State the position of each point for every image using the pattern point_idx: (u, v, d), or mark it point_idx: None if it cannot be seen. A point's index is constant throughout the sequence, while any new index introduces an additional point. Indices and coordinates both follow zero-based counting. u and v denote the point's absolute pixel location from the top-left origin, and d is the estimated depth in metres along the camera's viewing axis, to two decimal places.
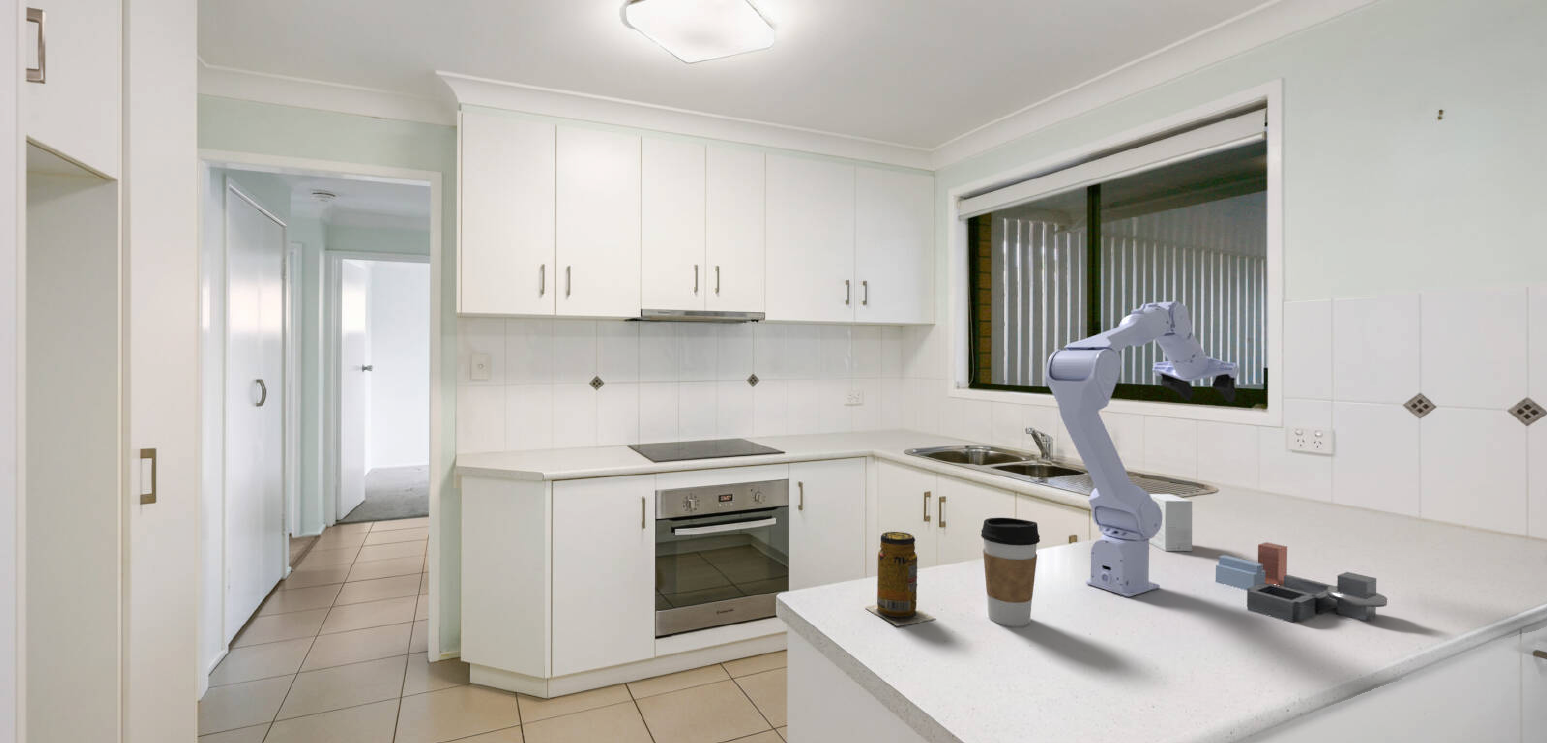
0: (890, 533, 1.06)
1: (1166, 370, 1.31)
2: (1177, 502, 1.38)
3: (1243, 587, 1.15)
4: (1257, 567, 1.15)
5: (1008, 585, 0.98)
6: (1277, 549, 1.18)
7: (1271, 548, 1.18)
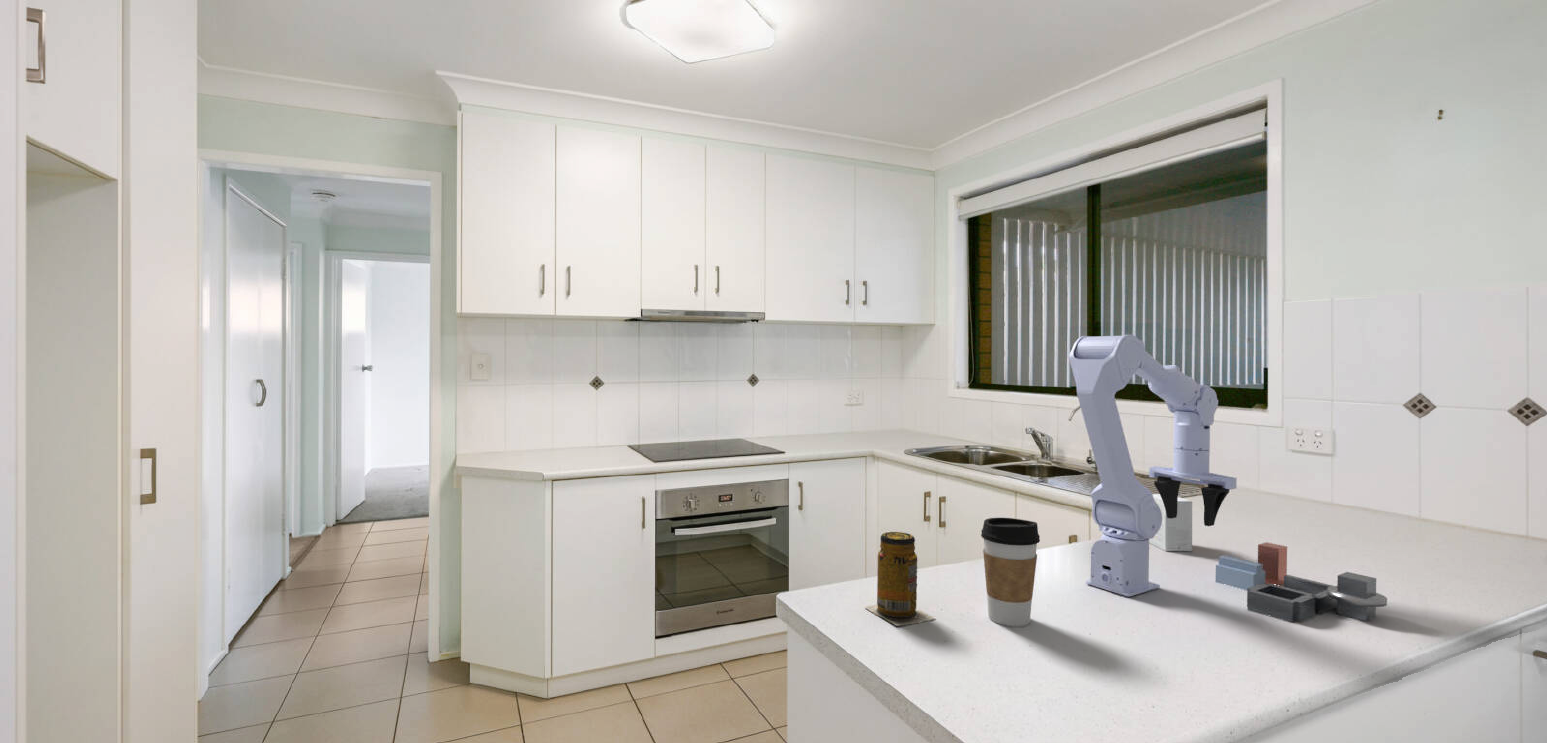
0: (890, 533, 1.05)
1: (1163, 470, 1.28)
2: (1177, 502, 1.38)
3: (1243, 587, 1.15)
4: (1257, 567, 1.15)
5: (1008, 585, 0.98)
6: (1277, 549, 1.18)
7: (1271, 548, 1.18)
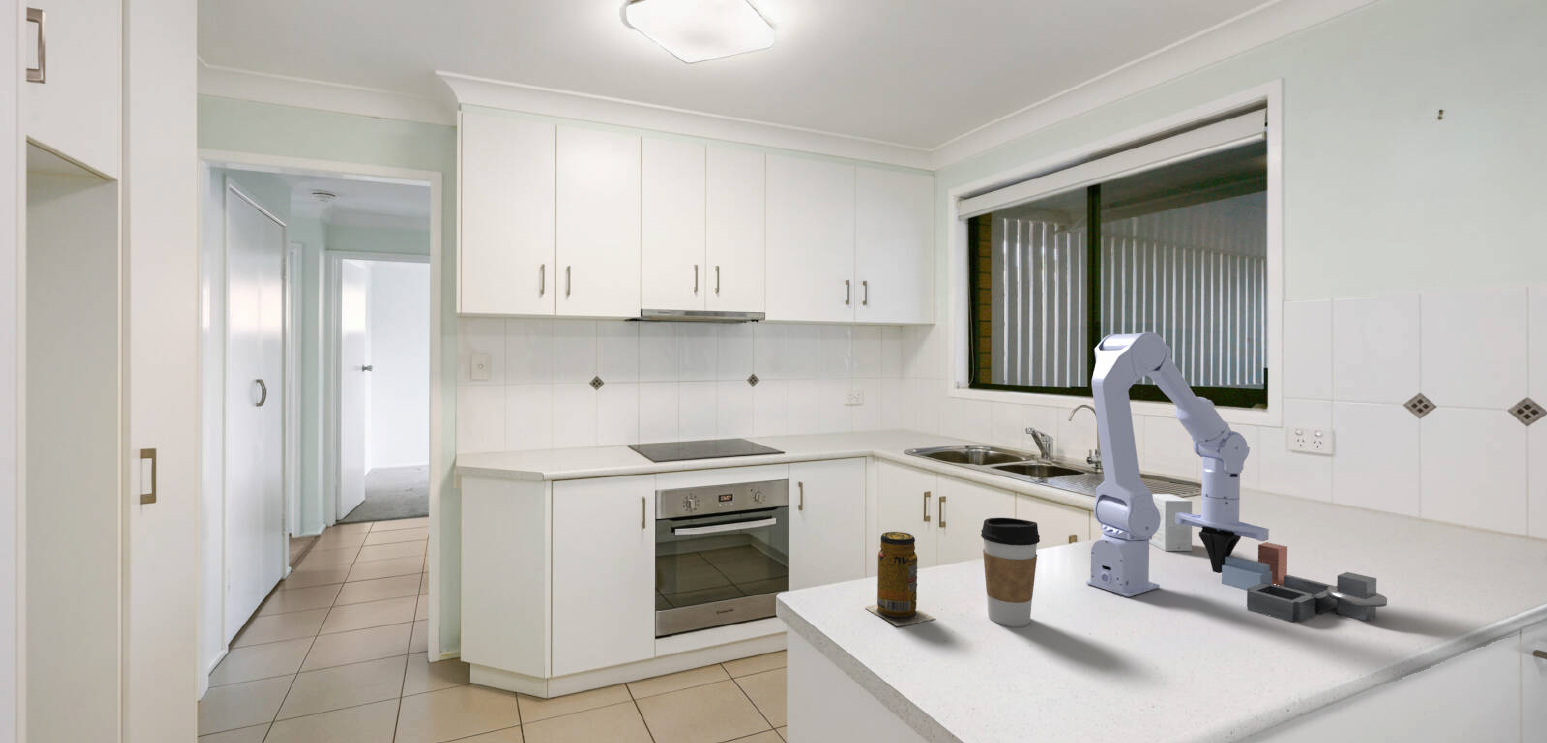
0: (890, 533, 1.05)
1: (1190, 517, 1.24)
2: (1177, 502, 1.38)
3: None
4: (1264, 568, 1.14)
5: (1008, 585, 0.98)
6: (1277, 549, 1.18)
7: (1271, 548, 1.18)
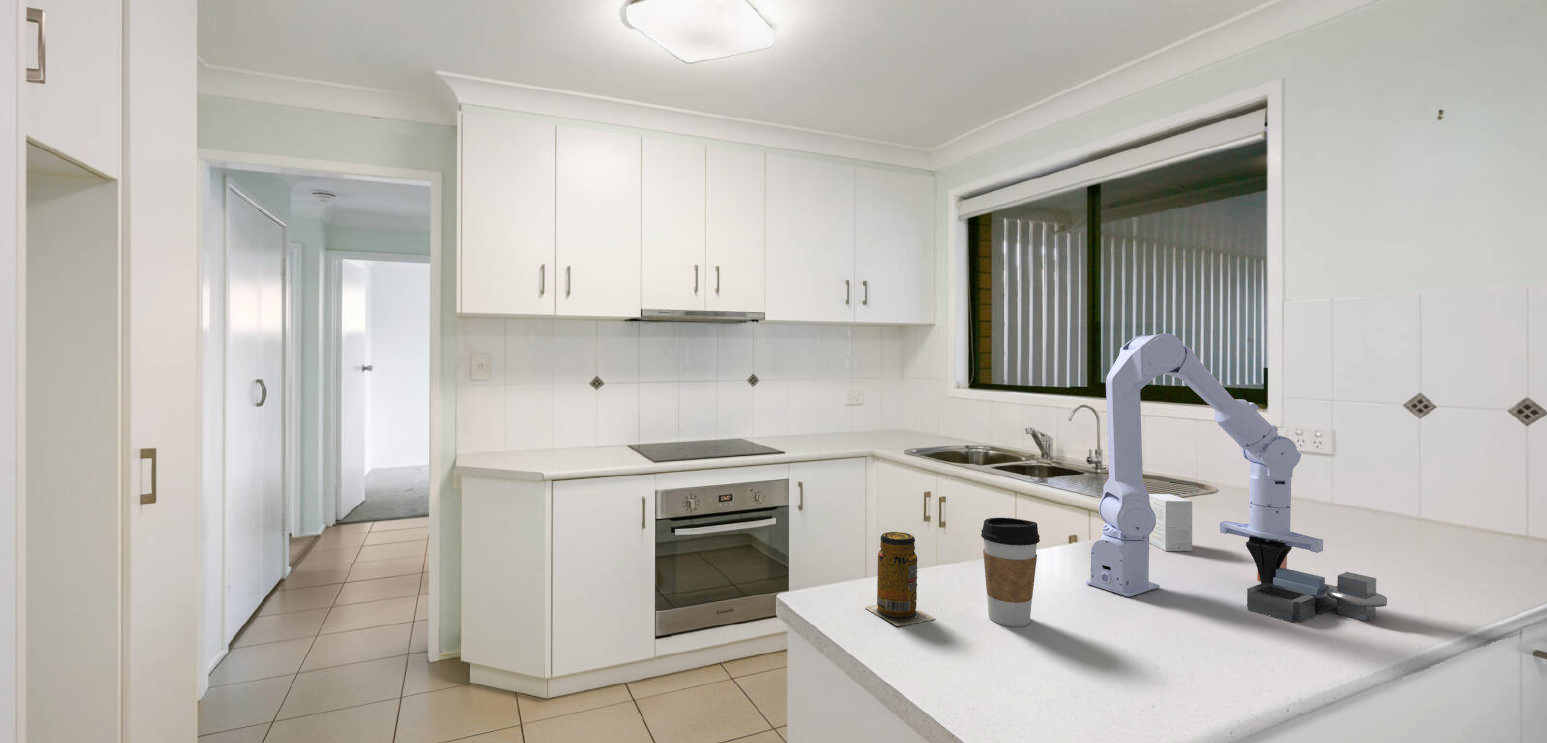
0: (890, 533, 1.05)
1: (1236, 526, 1.17)
2: (1177, 502, 1.38)
3: None
4: (1320, 581, 1.07)
5: (1008, 585, 0.98)
6: None
7: None
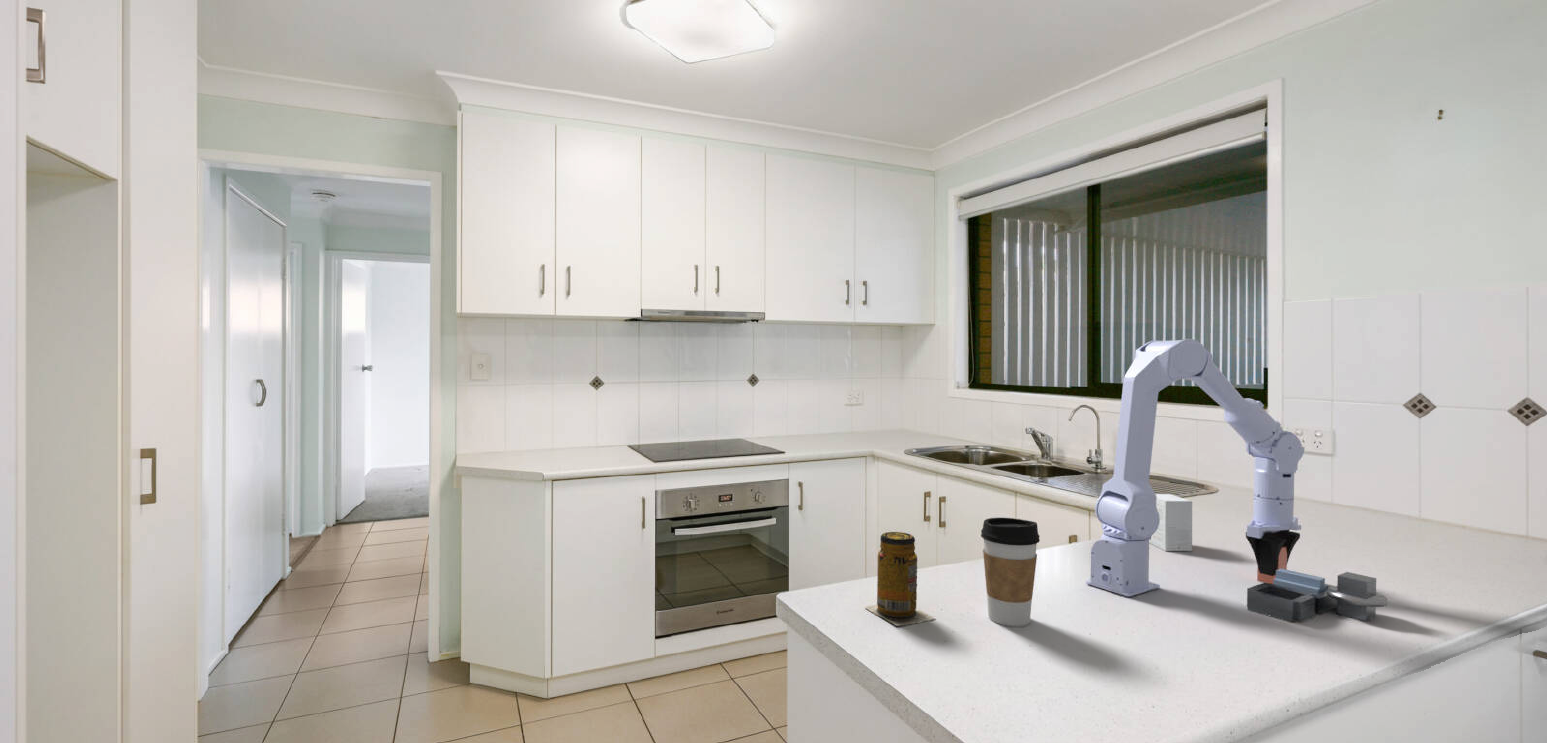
0: (890, 533, 1.05)
1: None
2: (1177, 502, 1.38)
3: None
4: (1320, 582, 1.07)
5: (1008, 585, 0.98)
6: None
7: None
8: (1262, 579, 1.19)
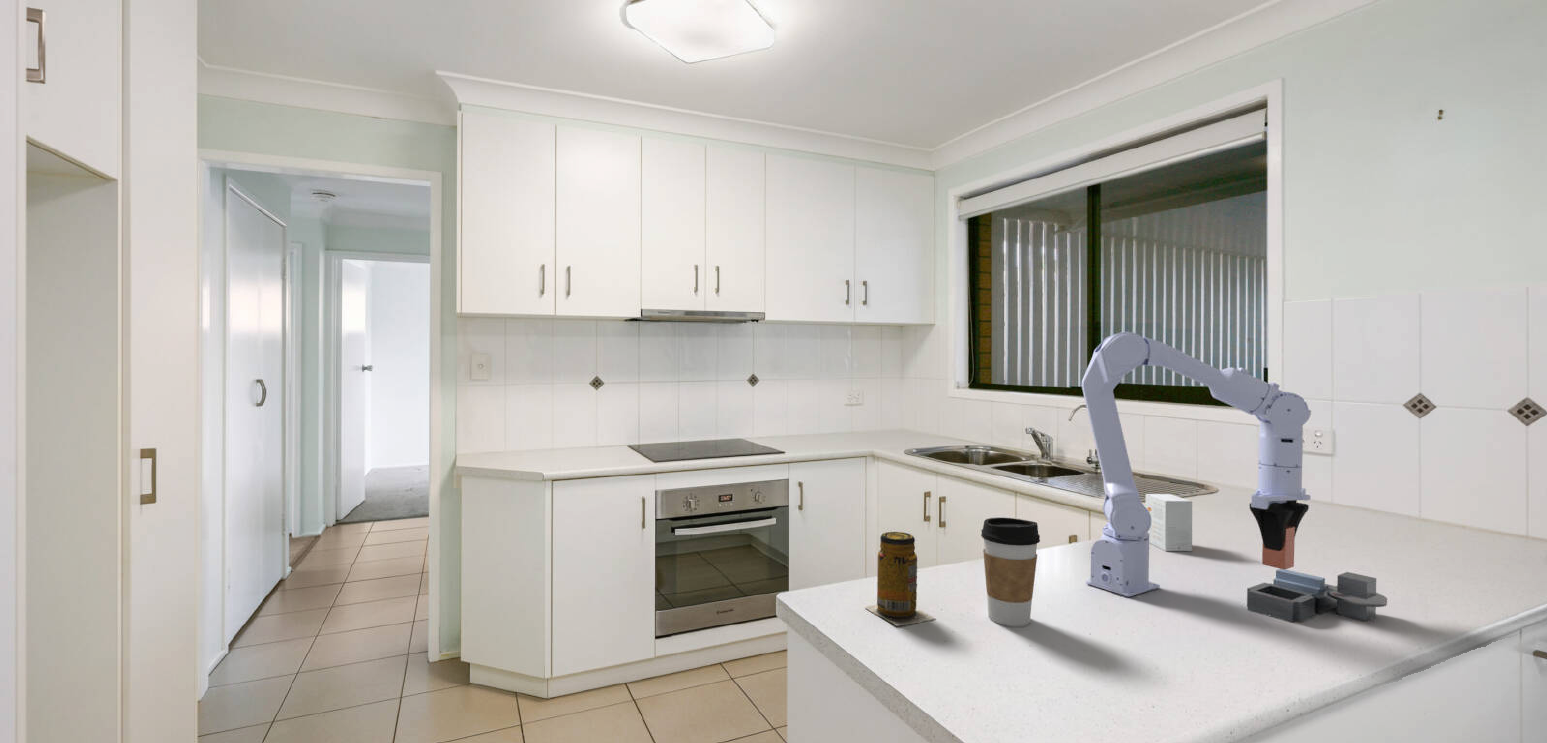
0: (890, 533, 1.06)
1: None
2: (1177, 502, 1.38)
3: None
4: (1320, 582, 1.07)
5: (1008, 585, 0.98)
6: None
7: None
8: (1268, 563, 1.09)
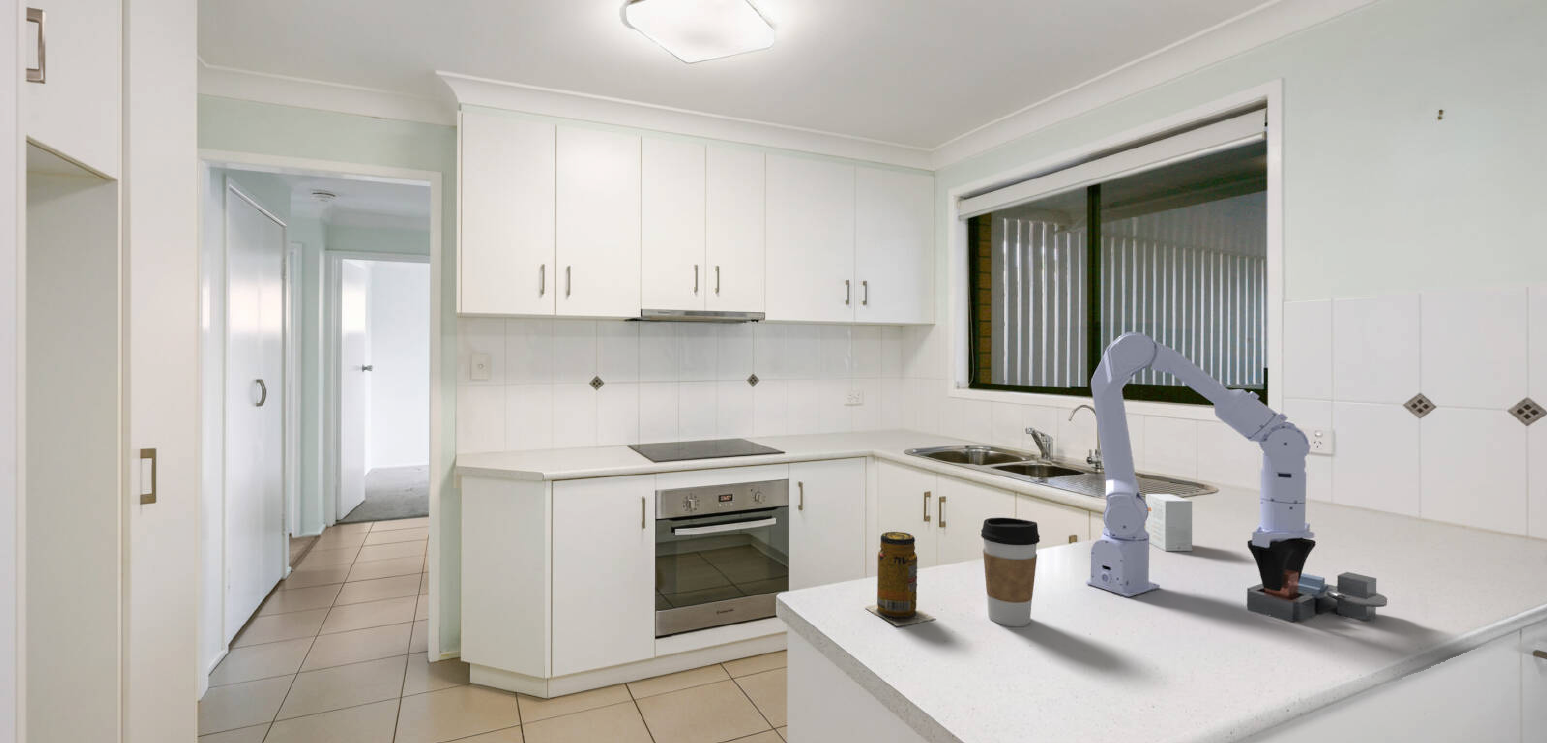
0: (890, 533, 1.06)
1: None
2: (1177, 502, 1.38)
3: None
4: (1320, 581, 1.07)
5: (1008, 585, 0.98)
6: (1287, 575, 1.03)
7: None
8: None
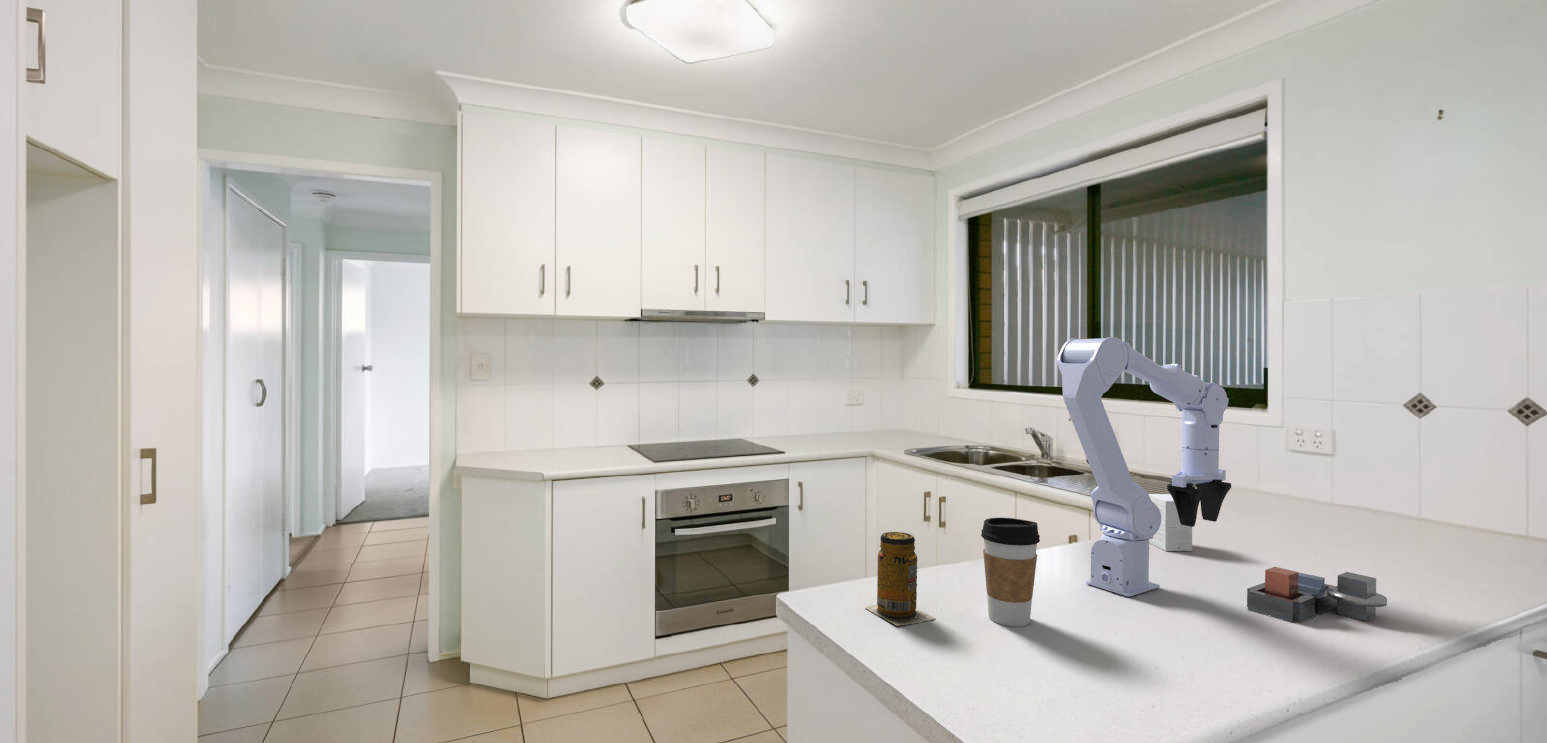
0: (890, 533, 1.06)
1: None
2: None
3: None
4: (1321, 581, 1.07)
5: (1008, 585, 0.98)
6: (1287, 575, 1.03)
7: (1280, 574, 1.04)
8: None
